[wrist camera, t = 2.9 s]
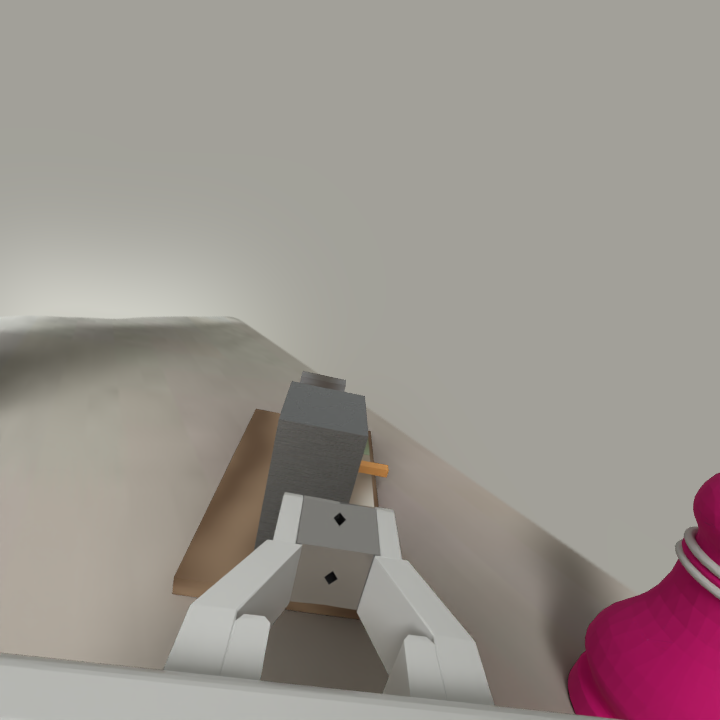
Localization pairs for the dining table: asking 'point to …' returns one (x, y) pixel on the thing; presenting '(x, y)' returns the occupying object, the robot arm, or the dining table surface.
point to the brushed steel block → (314, 450)
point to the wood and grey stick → (373, 468)
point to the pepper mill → (661, 637)
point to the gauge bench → (253, 508)
